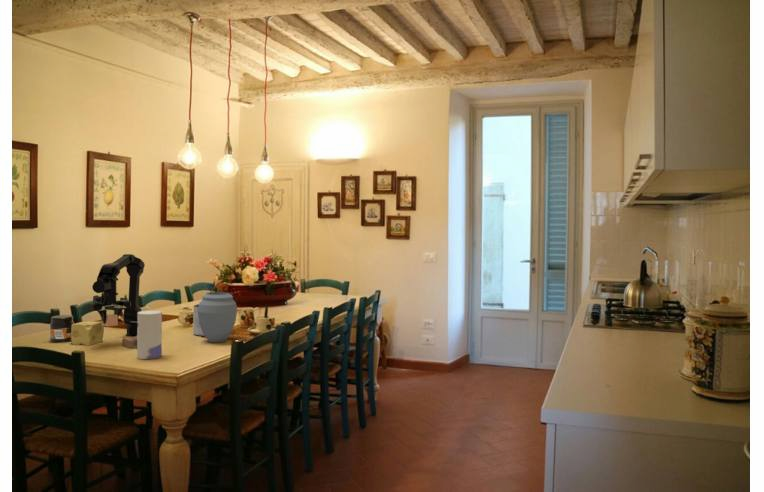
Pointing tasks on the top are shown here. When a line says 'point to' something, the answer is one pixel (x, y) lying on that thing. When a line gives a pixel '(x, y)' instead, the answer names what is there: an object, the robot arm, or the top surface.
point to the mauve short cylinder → (129, 342)
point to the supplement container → (61, 328)
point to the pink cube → (111, 320)
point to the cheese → (87, 333)
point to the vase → (217, 315)
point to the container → (149, 334)
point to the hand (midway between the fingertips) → (109, 323)
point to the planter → (196, 322)
